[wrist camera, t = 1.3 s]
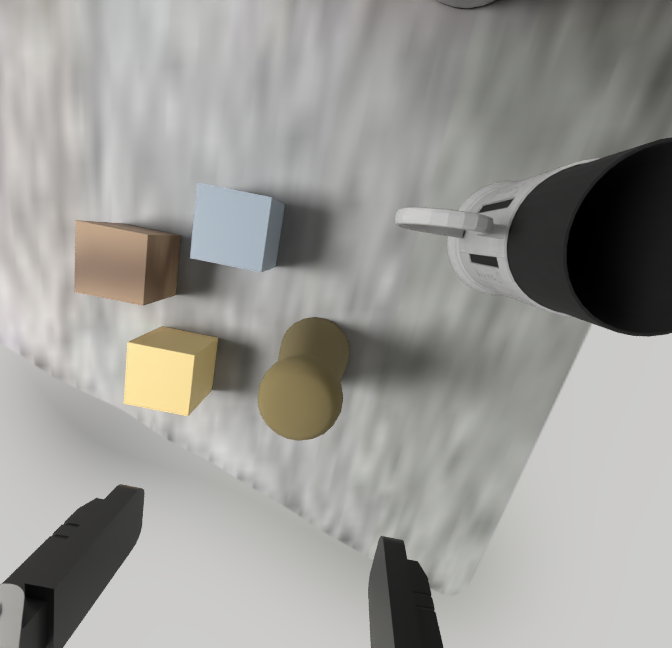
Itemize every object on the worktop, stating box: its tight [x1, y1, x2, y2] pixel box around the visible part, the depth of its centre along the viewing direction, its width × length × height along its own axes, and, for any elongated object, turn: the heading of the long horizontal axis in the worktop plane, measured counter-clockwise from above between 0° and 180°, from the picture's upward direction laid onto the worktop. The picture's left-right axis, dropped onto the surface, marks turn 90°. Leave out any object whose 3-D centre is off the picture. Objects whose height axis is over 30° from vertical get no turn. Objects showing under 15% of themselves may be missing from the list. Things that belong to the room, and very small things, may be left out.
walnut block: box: [74, 220, 181, 305], centre depth 28 cm, size 5×5×5 cm
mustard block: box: [124, 326, 218, 416], centre depth 30 cm, size 5×5×5 cm
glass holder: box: [395, 138, 672, 336], centre depth 21 cm, size 9×14×15 cm, turn 83°
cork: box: [258, 317, 350, 440], centre depth 26 cm, size 6×6×11 cm
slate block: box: [190, 182, 285, 272], centre depth 27 cm, size 5×5×5 cm
